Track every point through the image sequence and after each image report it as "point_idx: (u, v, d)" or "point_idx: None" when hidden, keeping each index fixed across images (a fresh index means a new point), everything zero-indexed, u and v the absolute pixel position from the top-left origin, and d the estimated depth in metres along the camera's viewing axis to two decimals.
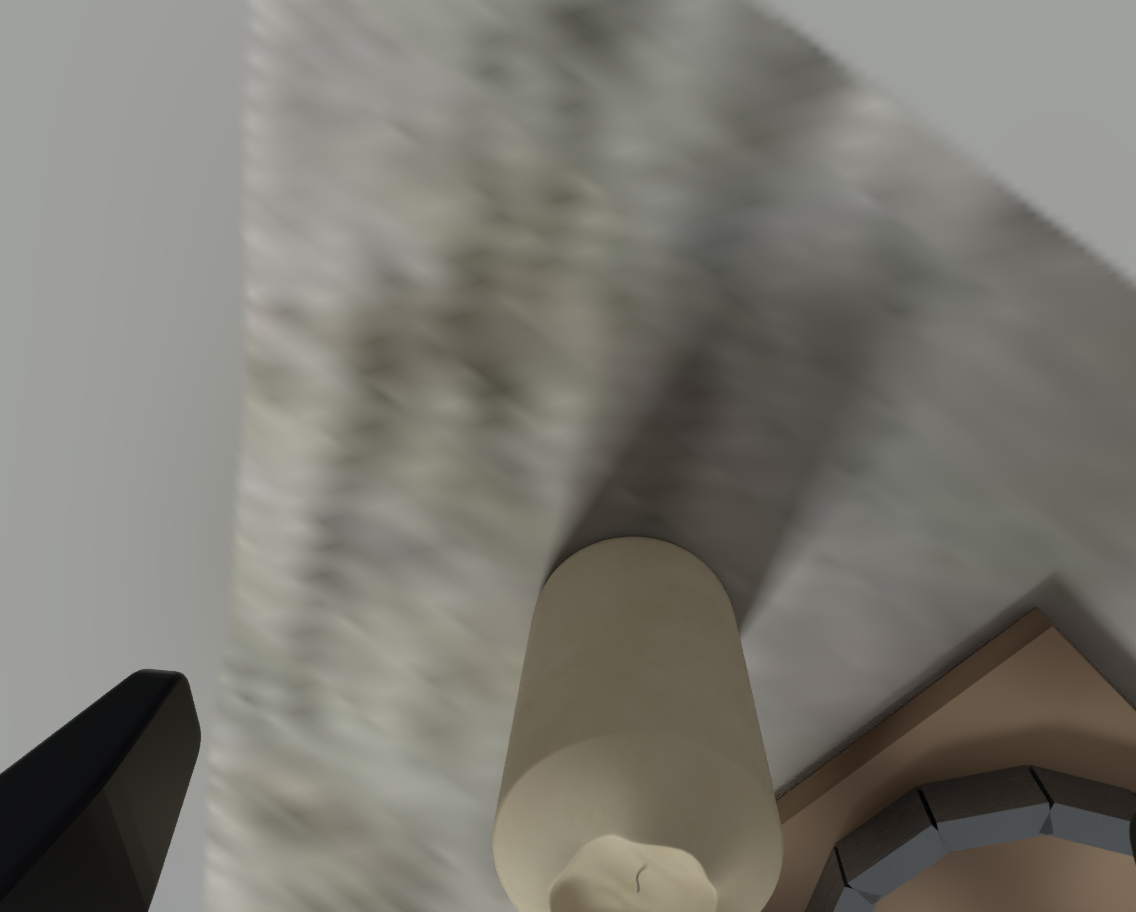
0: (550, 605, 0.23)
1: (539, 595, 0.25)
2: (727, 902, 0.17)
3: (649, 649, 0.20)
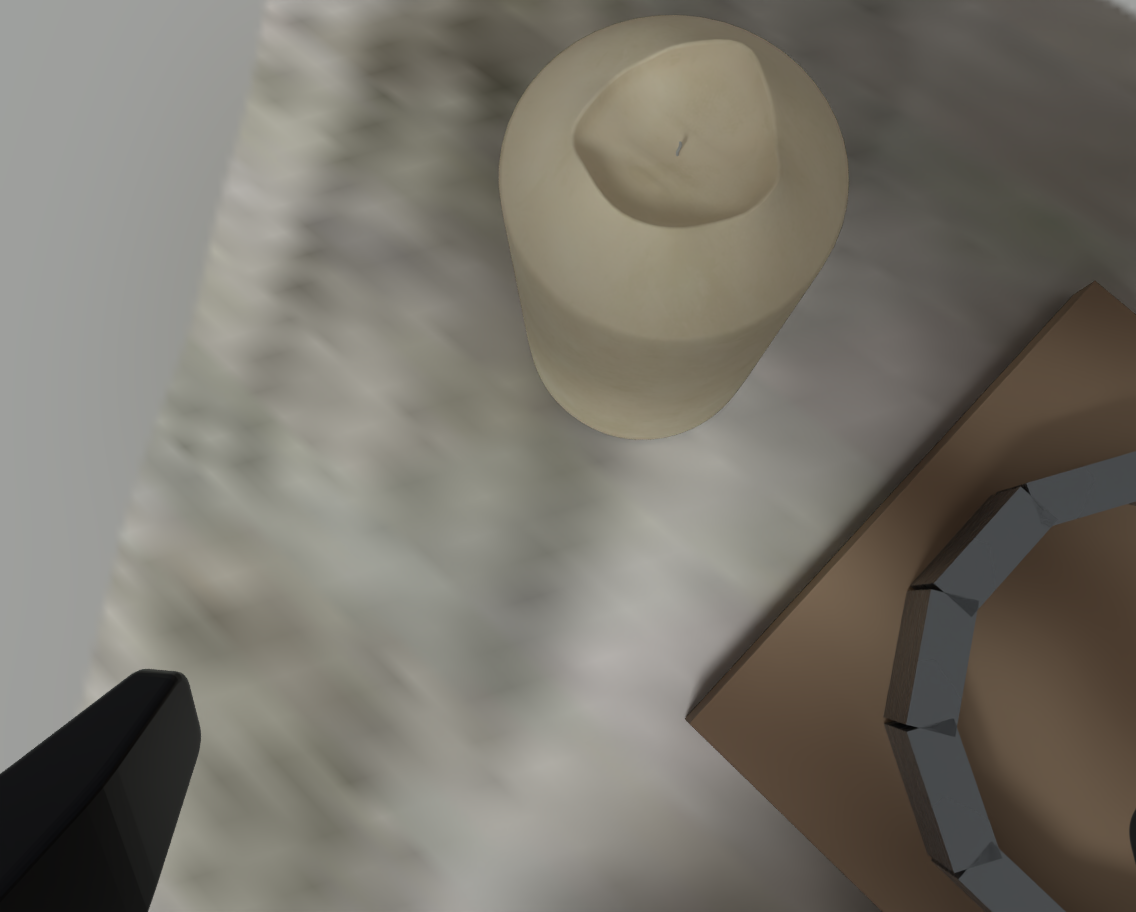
0: None
1: None
2: (790, 149, 0.14)
3: None
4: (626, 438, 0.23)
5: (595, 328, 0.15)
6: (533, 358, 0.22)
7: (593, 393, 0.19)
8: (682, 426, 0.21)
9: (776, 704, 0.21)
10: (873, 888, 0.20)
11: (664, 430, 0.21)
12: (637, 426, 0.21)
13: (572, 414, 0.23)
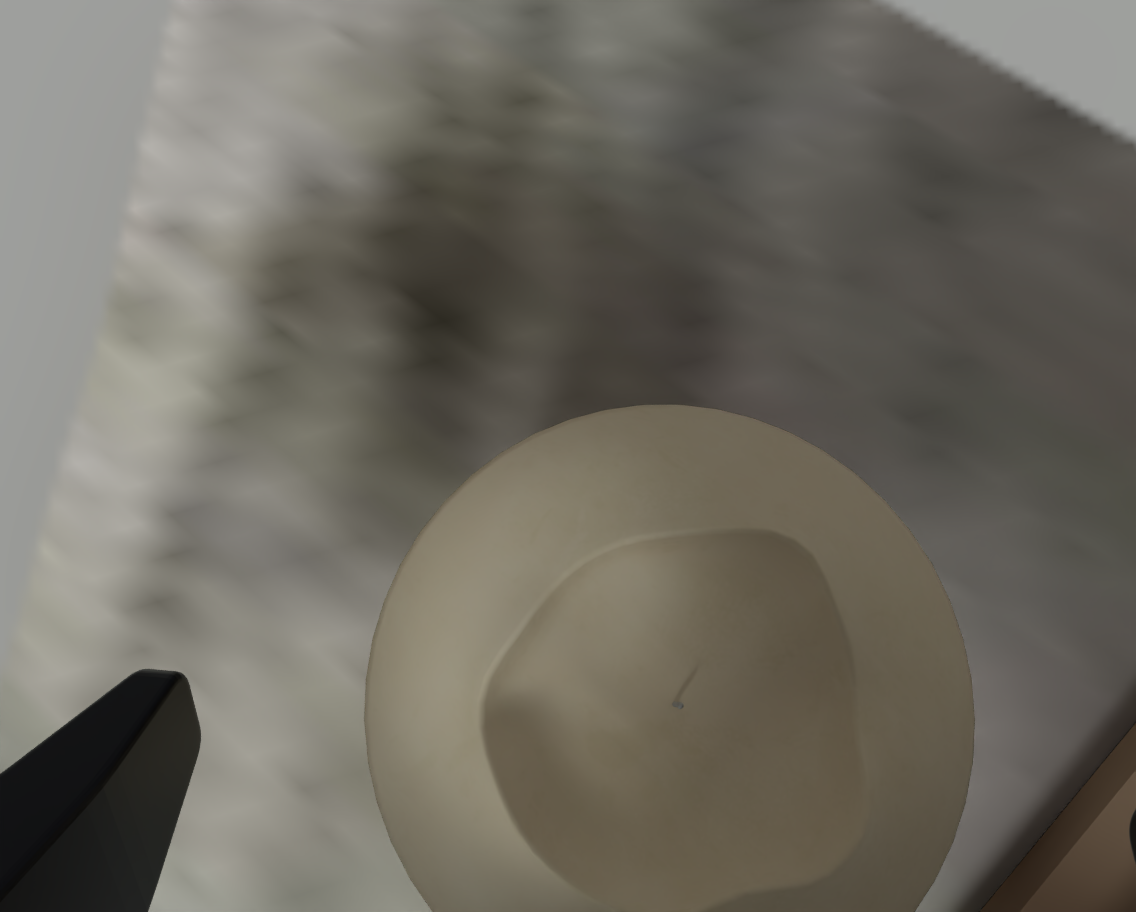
0: None
1: None
2: (882, 723, 0.08)
3: None
4: None
5: None
6: None
7: None
8: None
9: None
10: None
11: None
12: None
13: None
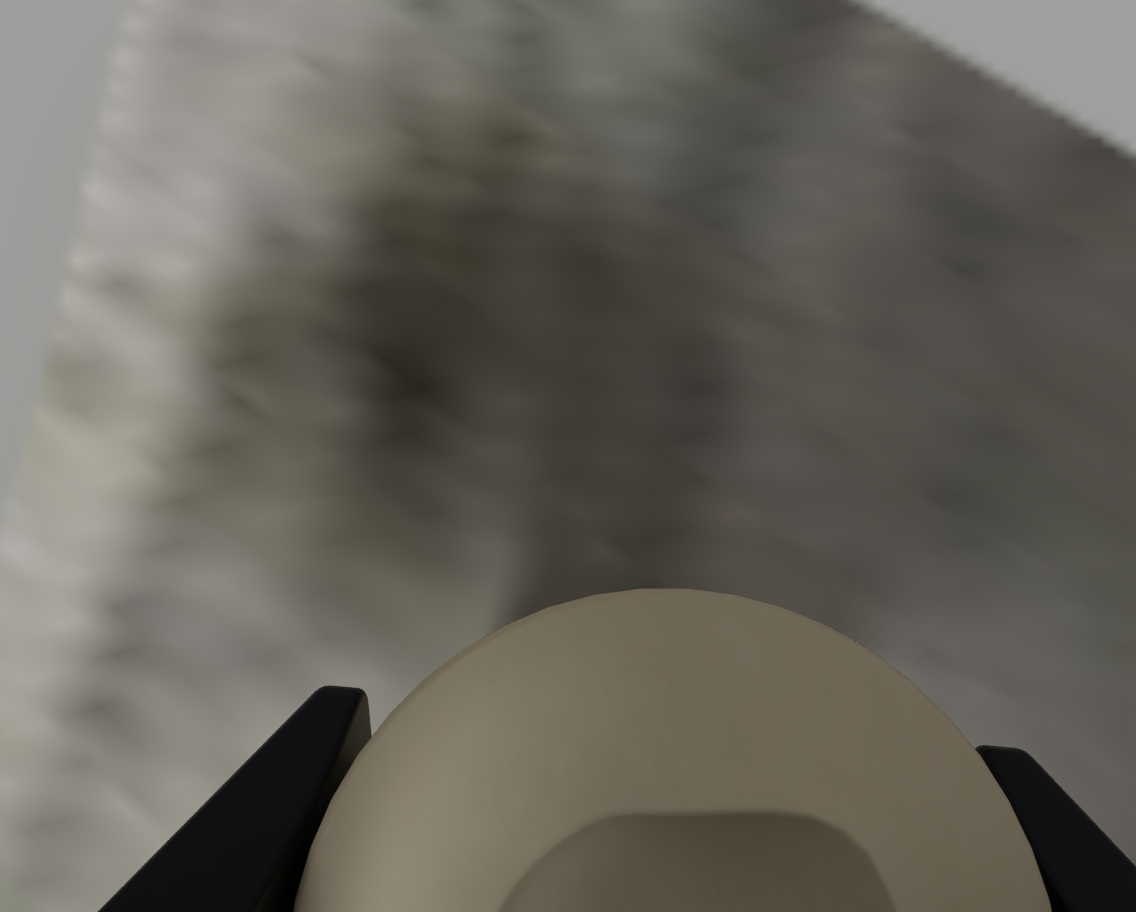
0: None
1: None
2: None
3: None
4: None
5: None
6: None
7: None
8: None
9: None
10: None
11: None
12: None
13: None
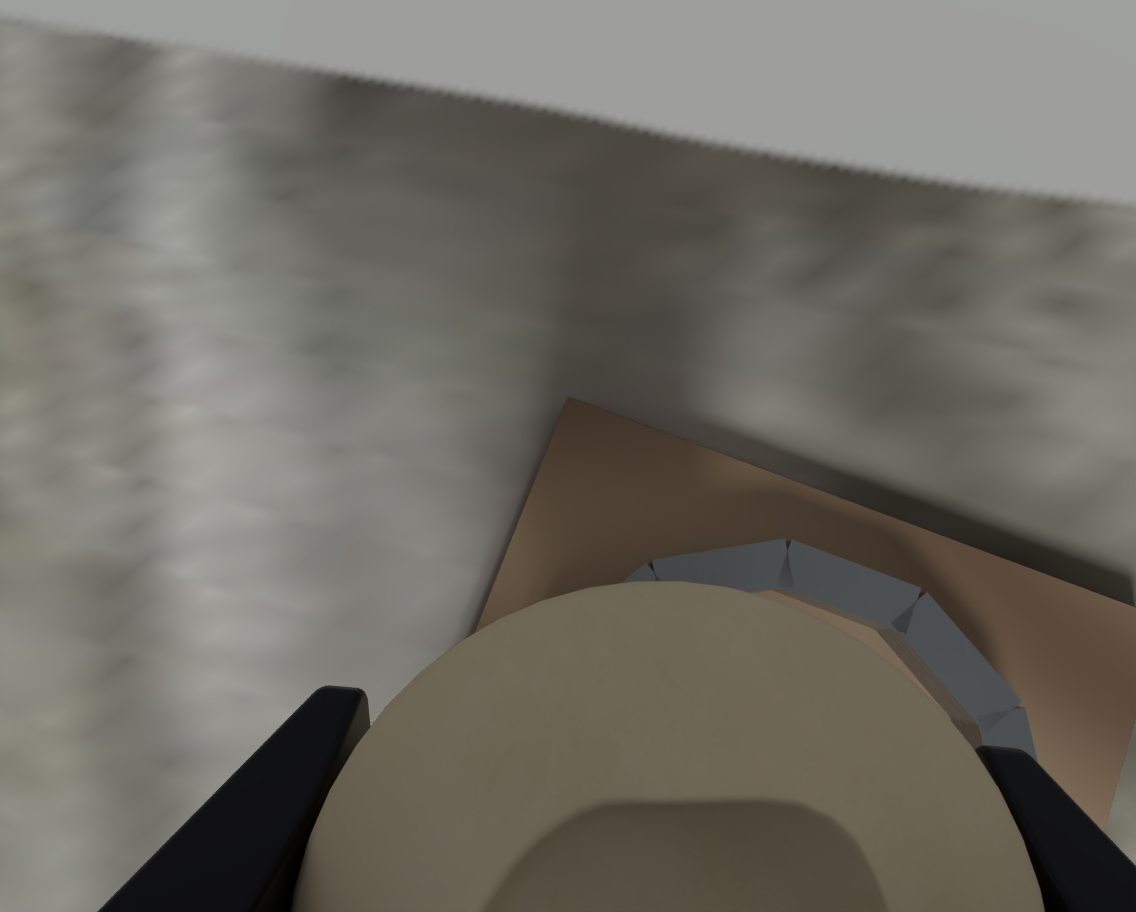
0: None
1: None
2: None
3: None
4: None
5: None
6: None
7: None
8: None
9: None
10: None
11: None
12: None
13: None
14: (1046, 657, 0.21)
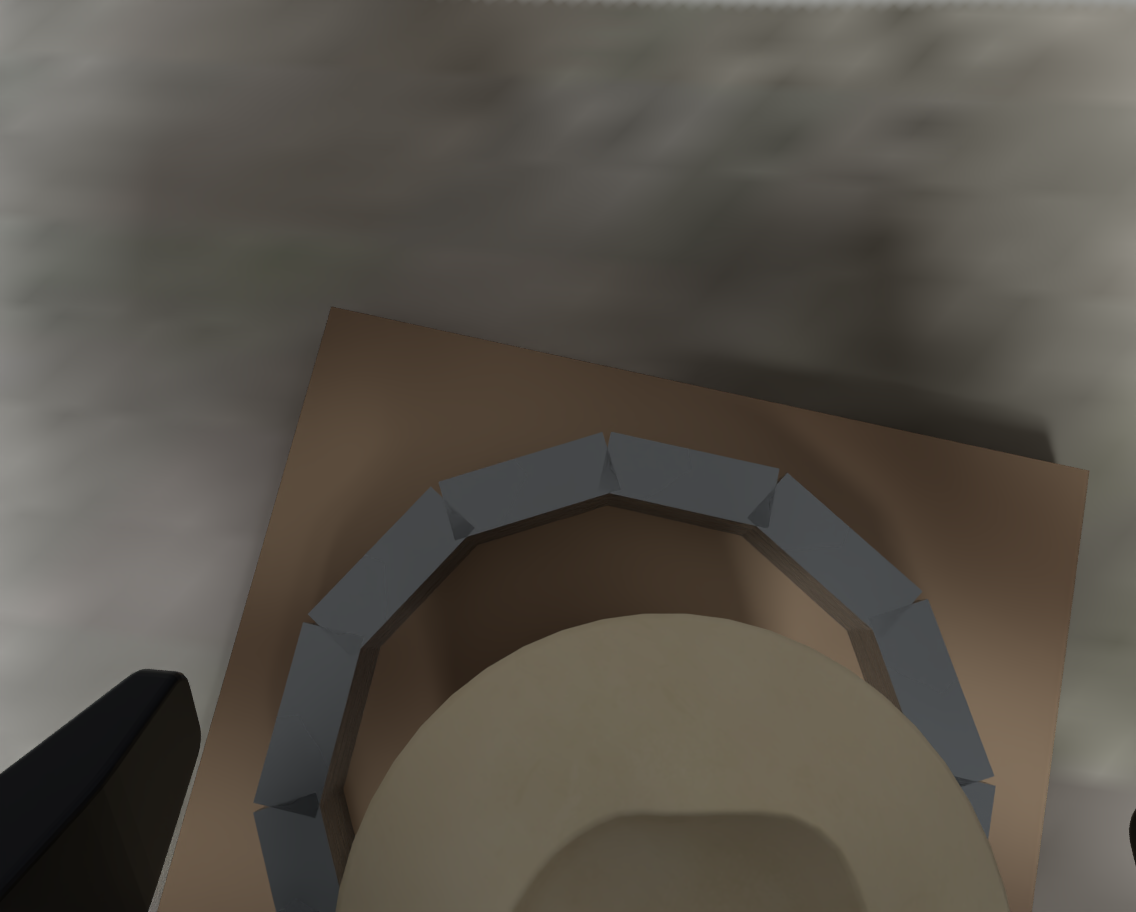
0: None
1: None
2: None
3: None
4: None
5: None
6: None
7: None
8: None
9: None
10: None
11: None
12: None
13: None
14: (954, 539, 0.17)
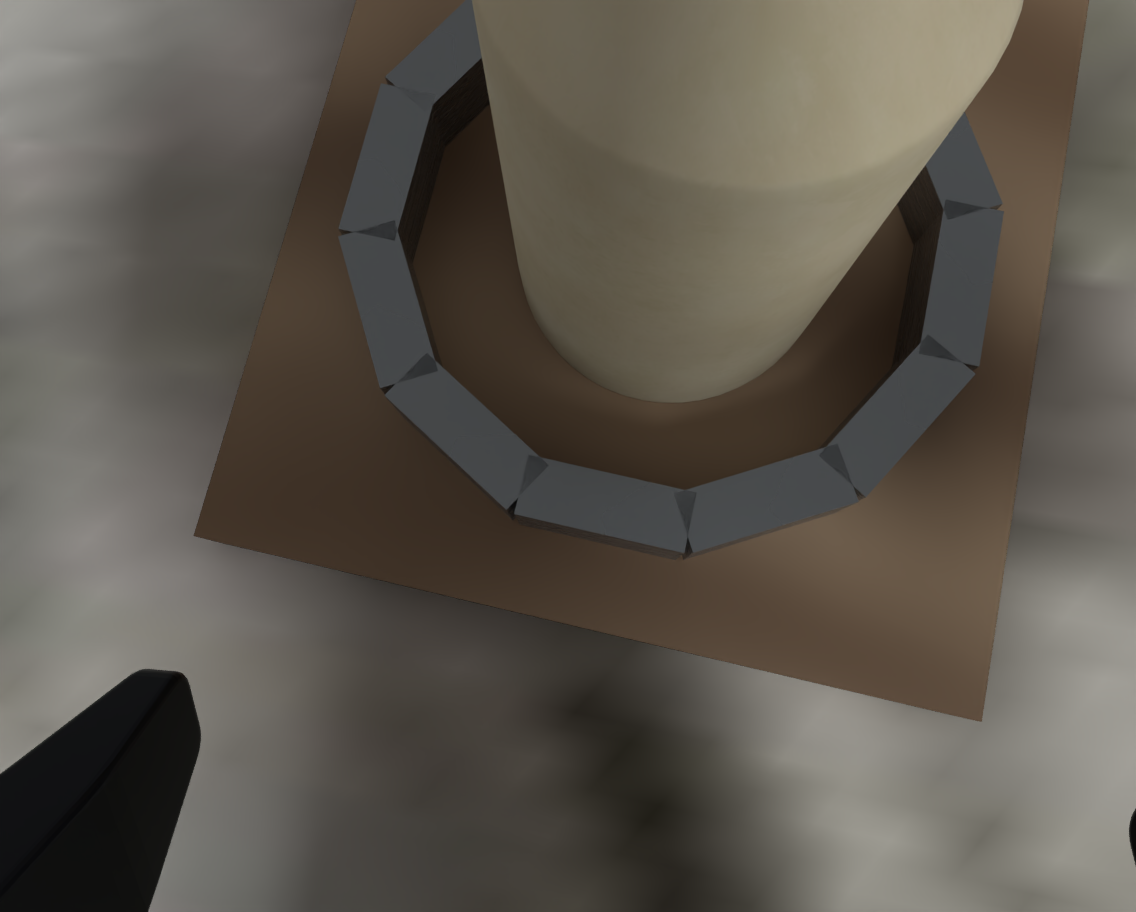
0: None
1: None
2: None
3: None
4: None
5: (620, 174, 0.09)
6: (525, 290, 0.16)
7: (609, 321, 0.13)
8: (727, 380, 0.16)
9: (278, 461, 0.17)
10: (473, 588, 0.17)
11: (703, 386, 0.16)
12: (667, 378, 0.15)
13: (577, 367, 0.17)
14: None
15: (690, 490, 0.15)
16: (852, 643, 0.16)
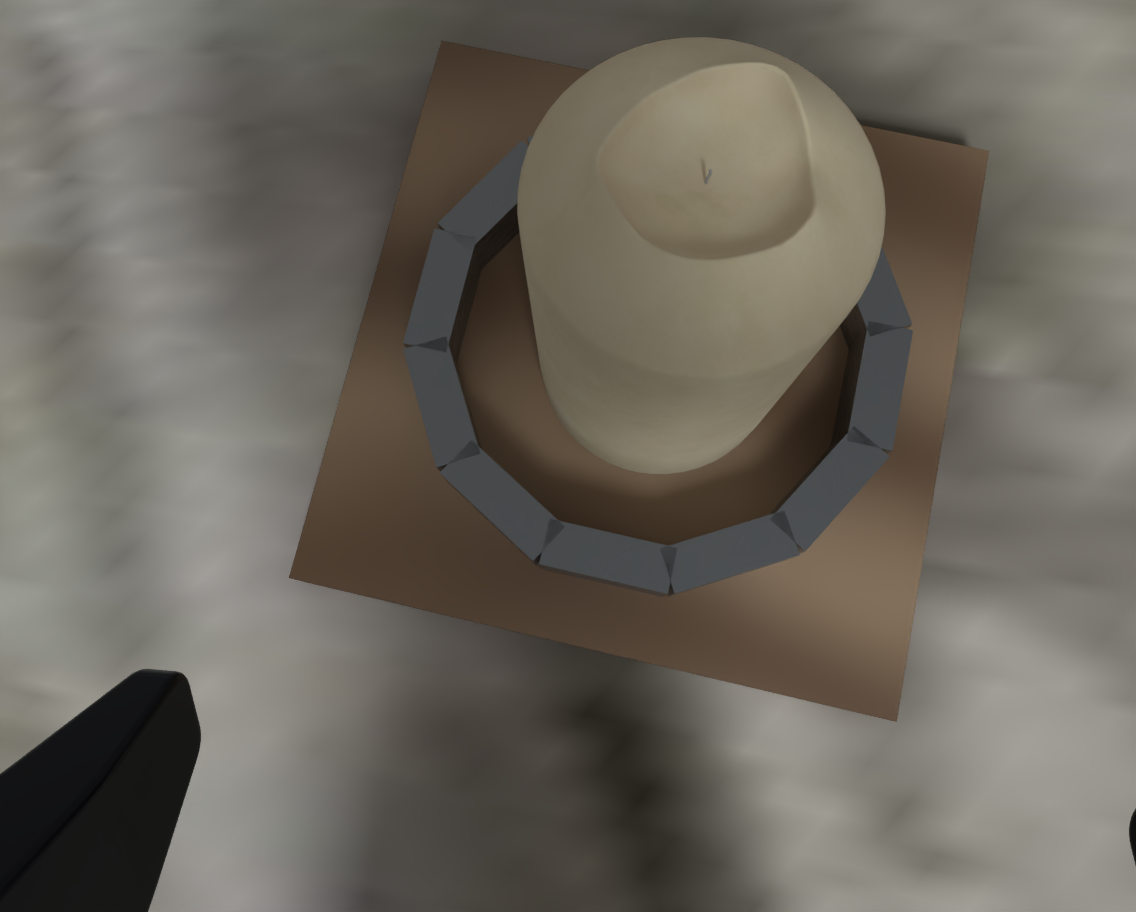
0: None
1: None
2: (825, 177, 0.13)
3: None
4: None
5: (618, 364, 0.14)
6: (546, 390, 0.21)
7: (611, 428, 0.18)
8: (701, 461, 0.21)
9: (353, 519, 0.22)
10: (506, 619, 0.21)
11: (682, 465, 0.21)
12: (655, 461, 0.20)
13: (586, 447, 0.22)
14: (891, 196, 0.23)
15: (672, 546, 0.20)
16: (798, 661, 0.21)
